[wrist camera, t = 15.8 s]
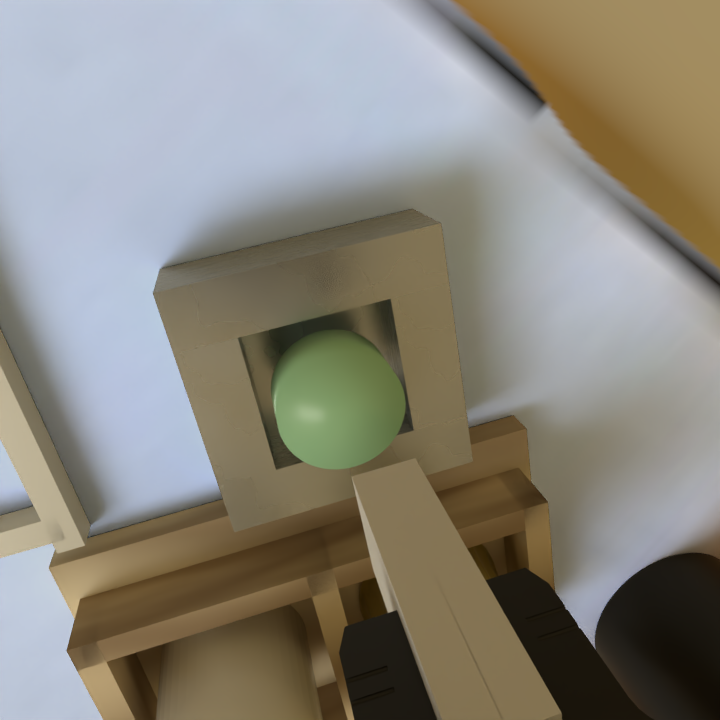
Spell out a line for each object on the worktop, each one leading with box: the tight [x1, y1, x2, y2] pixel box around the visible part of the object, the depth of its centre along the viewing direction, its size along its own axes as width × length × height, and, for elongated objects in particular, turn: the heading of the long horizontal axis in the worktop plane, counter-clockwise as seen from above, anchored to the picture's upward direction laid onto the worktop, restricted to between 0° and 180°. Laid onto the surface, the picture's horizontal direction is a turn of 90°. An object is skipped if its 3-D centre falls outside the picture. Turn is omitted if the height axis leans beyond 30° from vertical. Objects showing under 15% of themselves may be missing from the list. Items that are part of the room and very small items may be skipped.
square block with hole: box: [153, 209, 473, 532], centre depth 22 cm, size 9×9×3 cm
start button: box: [271, 329, 405, 469], centre depth 20 cm, size 4×4×2 cm
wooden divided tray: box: [49, 415, 555, 720], centre depth 26 cm, size 13×19×4 cm
